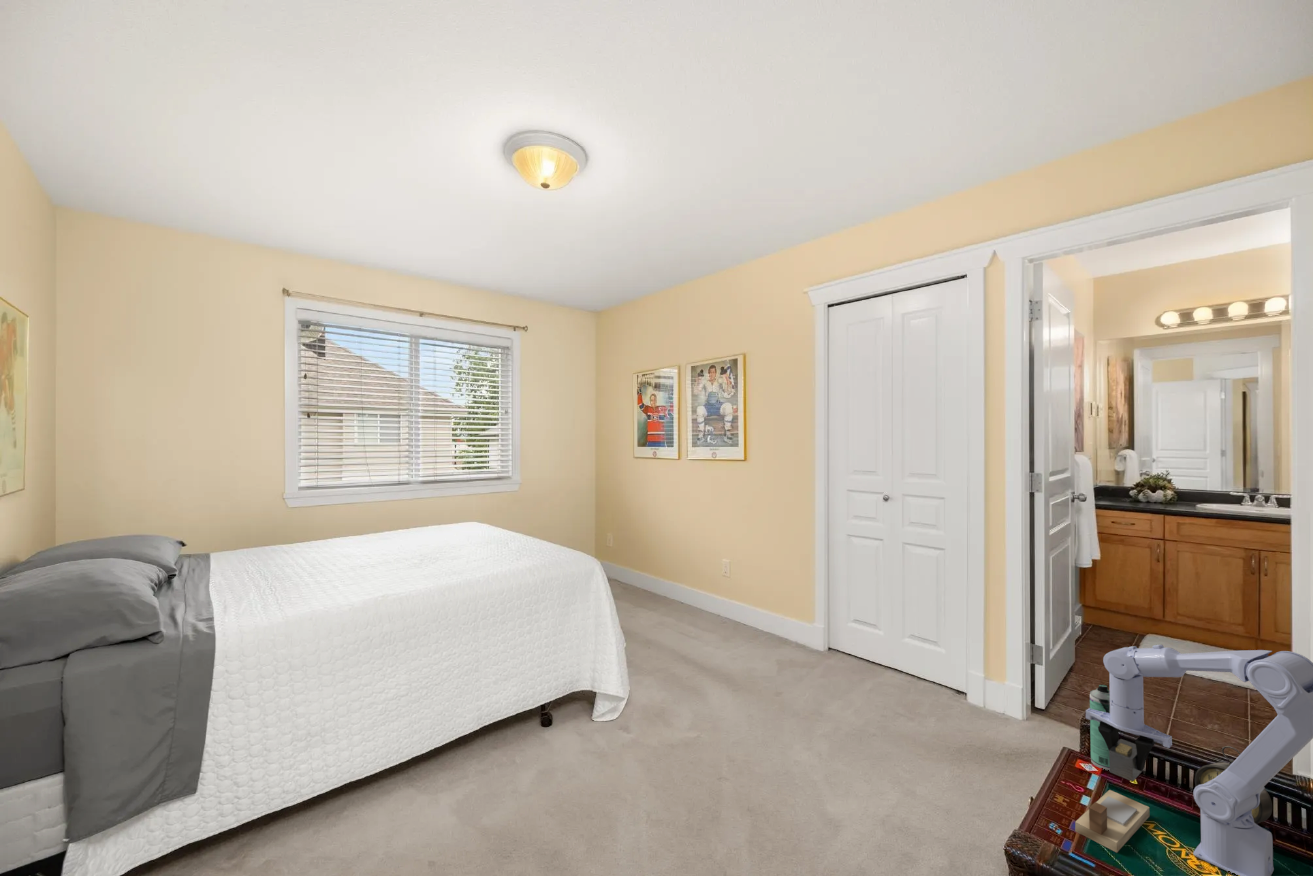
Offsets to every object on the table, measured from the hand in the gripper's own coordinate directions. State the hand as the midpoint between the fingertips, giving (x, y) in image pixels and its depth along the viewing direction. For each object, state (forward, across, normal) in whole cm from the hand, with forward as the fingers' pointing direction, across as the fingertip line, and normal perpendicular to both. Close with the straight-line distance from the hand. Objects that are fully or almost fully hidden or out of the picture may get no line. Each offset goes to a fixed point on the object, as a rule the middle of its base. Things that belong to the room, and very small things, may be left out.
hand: (1127, 763), depth 120 cm
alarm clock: (+10, -14, -12) cm, 21 cm away
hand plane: (+10, 0, +9) cm, 13 cm away
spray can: (+10, +9, -14) cm, 20 cm away
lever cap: (+2, 0, 0) cm, 2 cm away
